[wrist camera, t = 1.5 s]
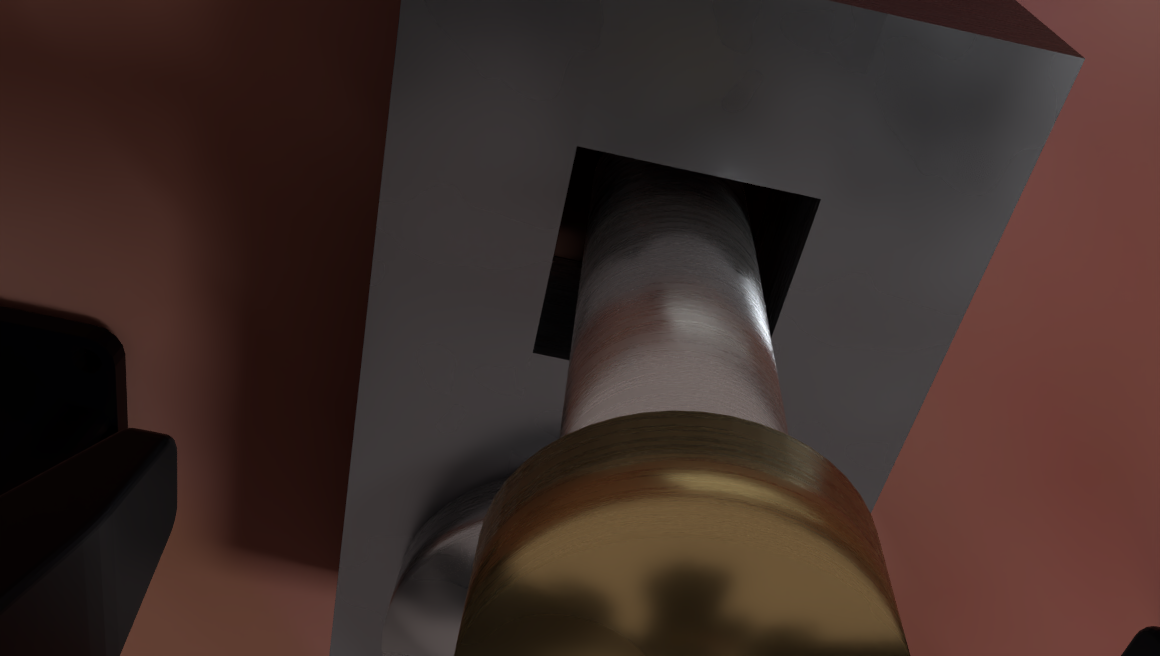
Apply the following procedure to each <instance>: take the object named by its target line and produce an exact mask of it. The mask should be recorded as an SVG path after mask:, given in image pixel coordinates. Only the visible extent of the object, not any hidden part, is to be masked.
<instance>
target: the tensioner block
mask: <svg viewBox="0 0 1160 656" xmlns="http://www.w3.org/2000/svg"><path fill="white" fill-rule="evenodd" d="M1084 60H1085V58H1084V57H1083V56H1081V55H1080V54H1079V53H1078V52H1077V51H1075V50H1074V49H1073V48H1072V47H1071V46H1069V45H1068V44H1067V43H1066V42H1065V41H1063V40H1062V39H1061V38H1060V37H1059V36H1058V35H1056V34H1055V33H1054V32H1053V31H1052V30H1050V29H1049V28H1048V27H1047V26H1046V25H1044V24H1043V23H1042V22H1041V21H1040V20H1038V19H1037V18H1036V17H1035V16H1034V15H1032V14H1031V13H1030V12H1029V11H1028V10H1027V9H1025V8H1024V7H1023V6H1022V5H1021V4H1019V3H1018V2H1017V1H1016V0H401V6H400V15H399V25H398V34H397V43H396V52H395V61H394V70H393V79H392V88H391V98H390V107H389V116H388V125H387V134H386V143H385V152H384V162H383V171H382V180H381V189H380V198H379V207H378V216H377V226H376V235H375V244H374V253H373V262H372V271H371V280H370V289H369V299H368V308H367V317H366V326H365V335H364V344H363V353H362V363H361V372H360V381H359V390H358V399H357V408H356V417H355V426H354V436H353V445H352V454H351V463H350V472H349V481H348V490H347V500H346V509H345V518H344V527H343V536H342V545H341V554H340V564H339V573H338V582H337V591H336V600H335V609H334V618H333V627H332V637H331V646H330V655H329V656H454V653H455V648H456V643H457V639H458V634H459V629H460V624H461V620H462V615H463V610H464V605H465V601H466V596H467V591H468V586H469V582H470V577H471V572H472V568H473V563H474V558H475V553H476V549H477V544H478V539H479V534H480V531H481V528H482V524H483V521H484V518H485V515H486V513H487V511H488V509H489V507H490V505H491V503H492V501H493V499H494V497H495V495H496V494H497V493H498V491H499V490H500V488H501V487H502V486H503V484H504V483H505V481H506V480H507V479H508V478H509V477H510V476H511V475H512V474H513V473H514V472H515V471H516V470H517V469H518V468H519V467H520V466H521V465H522V464H523V463H524V462H525V461H526V460H528V459H529V458H530V457H532V456H533V455H534V454H535V453H537V452H538V451H539V450H541V449H542V448H544V447H545V446H547V445H549V444H551V443H552V442H554V441H556V440H558V439H559V436H560V429H561V421H562V413H563V406H564V398H565V390H566V383H567V375H568V367H569V360H570V352H571V344H572V337H573V329H574V321H575V314H576V306H577V298H578V291H579V283H580V275H581V268H582V262H577V261H572V260H568V259H563V258H558V257H553V255H554V251H555V246H556V241H557V237H558V232H559V228H560V223H561V218H562V214H563V209H564V204H565V200H566V195H567V190H568V186H569V181H570V176H571V172H572V167H573V162H574V158H575V153H576V148H577V146H579V147H583V148H588V149H592V150H597V151H602V152H606V153H611V154H615V155H620V156H625V157H629V158H634V159H639V160H643V161H648V162H652V163H657V164H662V165H666V166H671V167H675V168H680V169H685V170H689V171H694V172H699V173H703V174H708V175H712V176H717V177H722V178H726V179H731V180H736V181H740V182H745V183H749V184H754V185H759V186H763V187H768V188H771V191H770V194H769V197H768V200H767V203H766V206H765V209H764V212H763V215H762V218H761V221H760V224H759V227H758V230H757V233H756V236H755V239H754V246H755V252H756V257H757V263H758V268H759V274H760V280H761V285H762V291H763V296H764V302H765V307H766V313H767V318H768V324H769V329H770V335H771V340H772V346H773V352H774V357H775V363H776V368H777V374H778V379H779V385H780V390H781V396H782V401H783V407H784V413H785V418H786V424H787V429H788V435H789V436H791V437H793V438H795V439H797V440H798V441H800V442H802V443H804V444H806V445H808V446H809V447H811V448H812V449H814V450H815V451H816V452H818V453H819V454H821V455H822V456H823V457H825V458H826V459H828V460H829V461H830V462H831V463H832V464H833V465H834V466H835V467H836V468H837V469H838V470H840V471H841V472H842V473H843V474H844V475H845V476H846V477H847V478H848V480H849V481H850V482H851V483H852V485H853V486H854V487H855V489H856V490H857V491H858V492H859V494H860V495H861V497H862V499H863V500H864V502H865V504H866V506H867V508H868V510H869V511H870V513H871V512H872V510H873V508H874V505H875V503H876V501H877V499H878V497H879V495H880V493H881V491H882V488H883V486H884V484H885V482H886V480H887V478H888V476H889V474H890V471H891V469H892V467H893V465H894V463H895V461H896V459H897V457H898V454H899V452H900V450H901V448H902V446H903V444H904V442H905V440H906V438H907V435H908V433H909V431H910V429H911V427H912V425H913V423H914V421H915V418H916V416H917V414H918V412H919V410H920V408H921V406H922V404H923V401H924V399H925V397H926V395H927V393H928V391H929V389H930V387H931V384H932V382H933V380H934V378H935V376H936V374H937V372H938V370H939V367H940V365H941V363H942V361H943V359H944V357H945V355H946V353H947V350H948V348H949V346H950V344H951V342H952V340H953V338H954V336H955V334H956V331H957V329H958V327H959V325H960V323H961V321H962V319H963V317H964V314H965V312H966V310H967V308H968V306H969V304H970V302H971V300H972V297H973V295H974V293H975V291H976V289H977V287H978V285H979V283H980V280H981V278H982V276H983V274H984V272H985V270H986V268H987V266H988V263H989V261H990V259H991V257H992V255H993V253H994V251H995V249H996V246H997V244H998V242H999V240H1000V238H1001V236H1002V234H1003V232H1004V230H1005V227H1006V225H1007V223H1008V221H1009V219H1010V217H1011V215H1012V213H1013V210H1014V208H1015V206H1016V204H1017V202H1018V200H1019V198H1020V196H1021V193H1022V191H1023V189H1024V187H1025V185H1026V183H1027V181H1028V179H1029V176H1030V174H1031V172H1032V170H1033V168H1034V166H1035V164H1036V162H1037V159H1038V157H1039V155H1040V153H1041V151H1042V149H1043V147H1044V145H1045V142H1046V140H1047V138H1048V136H1049V134H1050V132H1051V130H1052V128H1053V126H1054V123H1055V121H1056V119H1057V117H1058V115H1059V113H1060V111H1061V109H1062V106H1063V104H1064V102H1065V100H1066V98H1067V96H1068V94H1069V92H1070V89H1071V87H1072V85H1073V83H1074V81H1075V79H1076V77H1077V75H1078V72H1079V70H1080V68H1081V66H1082V64H1083V62H1084Z"/></svg>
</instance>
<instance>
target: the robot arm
mask: <svg viewBox="0 0 1160 656" xmlns="http://www.w3.org/2000/svg"><path fill="white" fill-rule="evenodd" d="M84 349H88V350H90V351H92V352H94V353H95V354H96V355H97V356H98V357H99V358H100V360H99V361H98V360H96V359H93V358H91V357H90V356H89V355H88V354H87V353H86V352H85V350H84ZM176 511H177V447H176V444H175V440H174V439H173V438H172V437H171V436H169V435H167V434H162V433H157V432H152V431H147V430H141V429H136V428H128V418H127V391H126V365H125V352H124V348H123V345H122V344H121V342H120V341H119V340H118V338H117V337H116V336H115V335H113V334H112V333H111V332H109V331H108V330H106V329H104V328H101V327H98V326H95V325H90V324H85V323H80V322H75V321H70V320H65V319H60V318H55V317H50V316H45V315H40V314H35V313H30V312H26V311H21V310H16V309H11V308H6V307H1V306H0V656H120V654H121V651H122V649H123V647H124V644H125V642H126V639H127V637H128V634H129V632H130V630H131V627H132V625H133V622H134V620H135V618H136V615H137V613H138V610H139V608H140V606H141V603H142V601H143V598H144V596H145V594H146V591H147V589H148V586H149V584H150V581H151V579H152V577H153V574H154V572H155V569H156V567H157V565H158V562H159V560H160V557H161V555H162V553H163V550H164V548H165V545H166V543H167V541H168V538H169V536H170V533H171V531H172V528H173V524H174V521H175V516H176ZM1121 656H1160V627H1156V626H1151V627H1146V628H1144V629H1142V630H1140V631H1139V632H1138V633H1137V634H1136V635H1135V637H1134V638H1133V639H1132V641H1131V642H1130V644H1129V645H1128V646H1127V648H1126V649H1125V651H1124V652H1123V654H1122V655H1121Z"/></svg>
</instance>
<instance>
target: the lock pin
mask: <svg viewBox="0 0 1160 656" xmlns="http://www.w3.org/2000/svg"><path fill="white" fill-rule="evenodd" d="M454 656H910V653H909V649H908V646H907V642H906V638H905V634H904V631H903V627H902V623H901V619H900V616H899V612H898V608H897V604H896V601H895V597H894V593H893V589H892V586H891V582H890V578H889V574H888V570H887V567H886V563H885V559H884V555H883V552H882V548H881V544H880V540H879V537H878V533H877V530H876V527H875V524H874V521H873V518H872V516H871V513H870V511H869V510H868V508H867V506H866V504H865V502H864V500H863V499H862V497H861V495H860V494H859V492H858V491H857V490H856V489H855V487H854V486H853V485H852V483H851V482H850V481H849V480H848V478H847V477H846V476H845V475H844V474H843V473H842V472H841V471H840V470H838V469H837V468H836V467H835V466H834V465H833V464H832V463H831V462H830V461H829V460H828V459H826V458H825V457H823V456H822V455H821V454H819V453H818V452H816V451H815V450H814V449H812V448H811V447H809V446H808V445H806V444H804V443H802V442H800V441H798V440H797V439H795V438H793V437H791V436H789V435H788V429H787V424H786V418H785V413H784V407H783V401H782V396H781V390H780V385H779V379H778V374H777V368H776V363H775V357H774V352H773V346H772V340H771V335H770V329H769V324H768V318H767V313H766V307H765V302H764V296H763V291H762V285H761V280H760V274H759V268H758V263H757V257H756V252H755V246H754V241H753V235H752V230H751V224H750V219H749V213H748V207H747V202H746V196H745V191H744V185H743V182H740V181H736V180H731V179H726V178H722V177H717V176H712V175H708V174H703V173H699V172H694V171H689V170H685V169H680V168H675V167H671V166H666V165H662V164H657V163H652V162H648V161H643V160H639V159H634V158H629V157H625V156H620V155H615V154H611V153H606V152H603V154H602V155H601V157H600V159H599V161H598V163H597V166H596V169H595V172H594V177H593V184H592V191H591V199H590V207H589V214H588V222H587V230H586V237H585V245H584V253H583V260H582V268H581V275H580V283H579V291H578V298H577V306H576V314H575V321H574V329H573V337H572V344H571V352H570V360H569V367H568V375H567V383H566V390H565V398H564V406H563V413H562V421H561V429H560V436H559V439H558V440H556V441H554V442H552V443H551V444H549V445H547V446H545V447H544V448H542V449H541V450H539V451H538V452H537V453H535V454H534V455H533V456H532V457H530V458H529V459H528V460H526V461H525V462H524V463H523V464H522V465H521V466H520V467H519V468H518V469H517V470H516V471H515V472H514V473H513V474H512V475H511V476H510V477H509V478H508V479H507V480H506V481H505V483H504V484H503V486H502V487H501V488H500V490H499V491H498V493H497V494H496V495H495V497H494V499H493V501H492V503H491V505H490V507H489V509H488V511H487V513H486V515H485V518H484V521H483V524H482V528H481V531H480V534H479V539H478V544H477V549H476V553H475V558H474V563H473V568H472V572H471V577H470V582H469V586H468V591H467V596H466V601H465V605H464V610H463V615H462V620H461V624H460V629H459V634H458V639H457V643H456V648H455V653H454Z"/></svg>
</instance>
